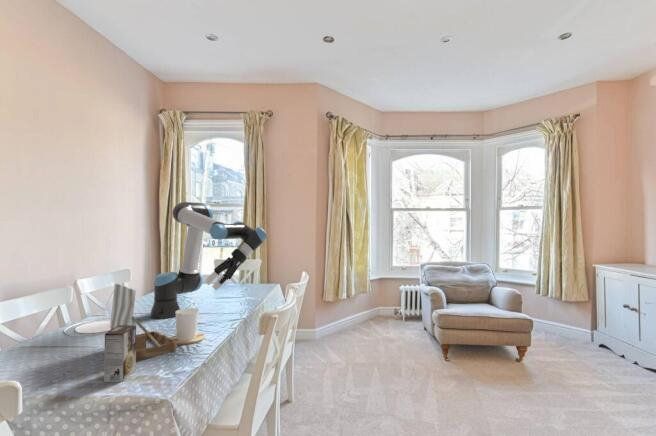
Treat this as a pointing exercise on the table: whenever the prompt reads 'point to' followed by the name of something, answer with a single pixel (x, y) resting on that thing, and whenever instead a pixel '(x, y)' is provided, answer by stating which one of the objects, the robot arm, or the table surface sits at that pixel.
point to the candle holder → (186, 323)
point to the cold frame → (124, 316)
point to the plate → (92, 327)
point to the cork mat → (187, 342)
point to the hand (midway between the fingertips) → (210, 285)
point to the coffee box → (120, 353)
